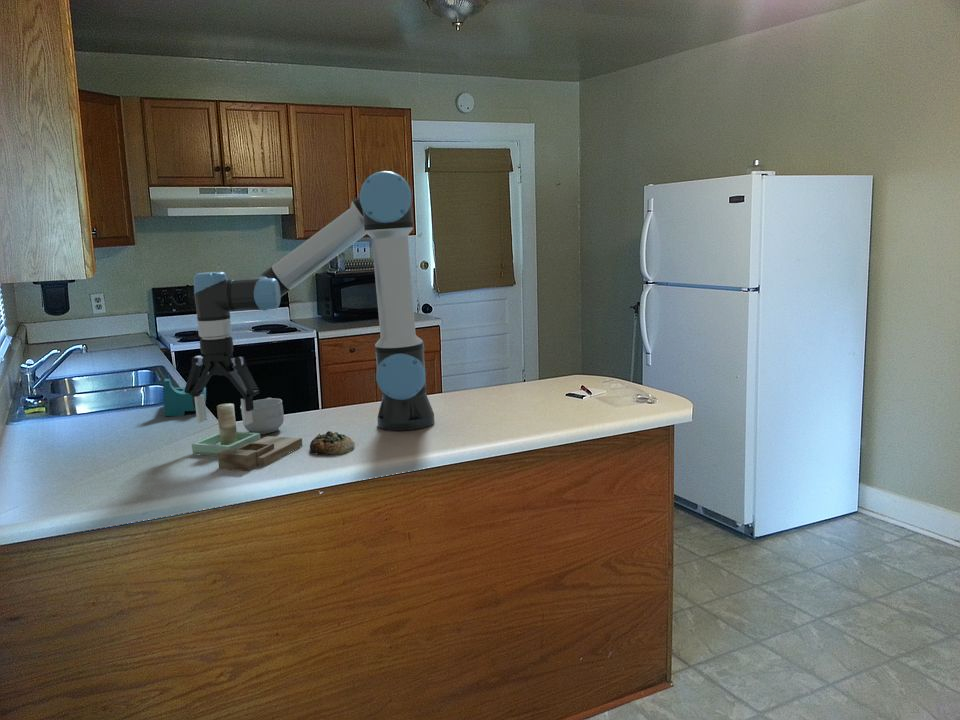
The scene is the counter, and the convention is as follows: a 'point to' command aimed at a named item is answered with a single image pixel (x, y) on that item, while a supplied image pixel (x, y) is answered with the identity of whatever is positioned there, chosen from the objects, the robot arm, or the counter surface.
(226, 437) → the dowel
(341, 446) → the bread roll
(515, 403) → the counter surface
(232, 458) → the block
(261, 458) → the brown slotted slab
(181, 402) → the teal notched cradle
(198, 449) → the tray
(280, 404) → the teacup
